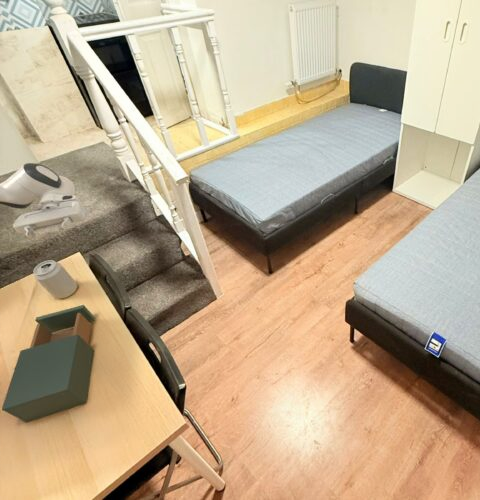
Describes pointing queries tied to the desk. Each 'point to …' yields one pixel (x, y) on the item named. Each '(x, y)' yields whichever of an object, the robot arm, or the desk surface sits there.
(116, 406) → the desk surface
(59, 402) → the cabinet
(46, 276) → the can
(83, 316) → the drawer
